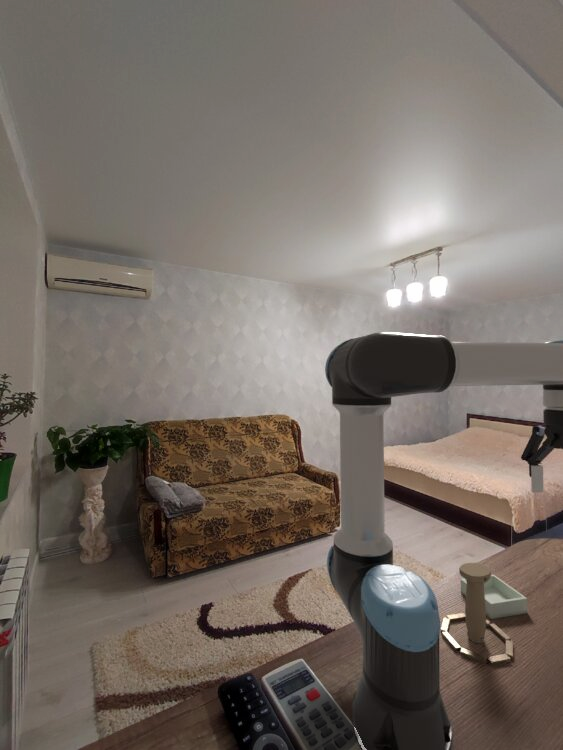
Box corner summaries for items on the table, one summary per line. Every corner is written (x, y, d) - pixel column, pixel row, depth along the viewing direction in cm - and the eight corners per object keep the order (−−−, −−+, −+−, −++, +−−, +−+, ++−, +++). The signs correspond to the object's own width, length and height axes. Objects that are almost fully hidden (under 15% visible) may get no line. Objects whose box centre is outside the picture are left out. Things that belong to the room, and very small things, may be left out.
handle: (497, 643, 72) (496, 572, 72) (474, 651, 70) (473, 578, 70) (476, 627, 76) (476, 560, 76) (455, 635, 74) (454, 566, 74)
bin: (491, 618, 79) (491, 603, 79) (460, 592, 89) (460, 578, 89) (527, 612, 81) (527, 598, 81) (493, 587, 91) (493, 574, 91)
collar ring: (471, 670, 65) (471, 666, 65) (429, 621, 78) (429, 618, 78) (529, 658, 68) (529, 654, 68) (479, 613, 81) (479, 610, 81)
